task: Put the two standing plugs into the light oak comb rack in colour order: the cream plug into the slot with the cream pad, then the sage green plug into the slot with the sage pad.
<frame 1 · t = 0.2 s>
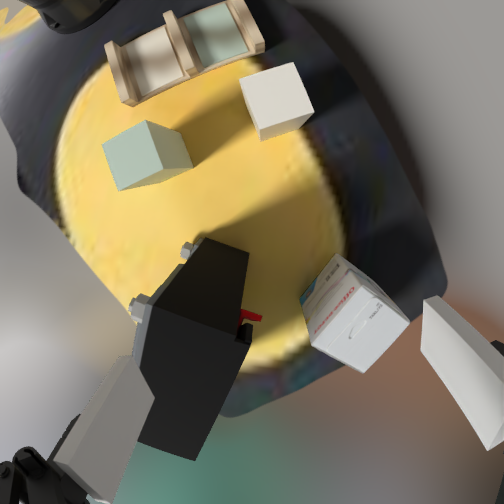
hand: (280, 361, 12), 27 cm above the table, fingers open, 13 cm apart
electrical component: (207, 300, 41), on the table
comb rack: (184, 47, 31), on the table
cream plug: (272, 117, 34), on the table
ink box: (339, 291, 40), on the table
sage plug: (169, 157, 36), on the table
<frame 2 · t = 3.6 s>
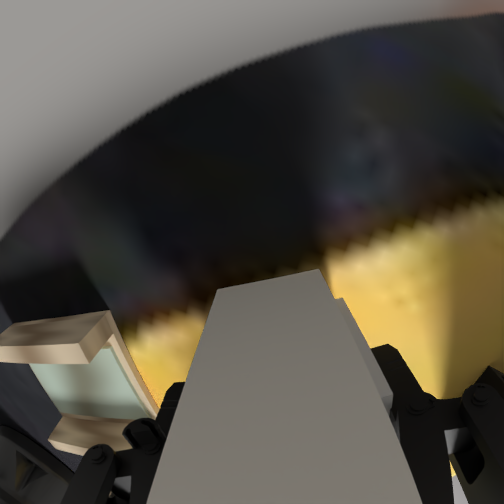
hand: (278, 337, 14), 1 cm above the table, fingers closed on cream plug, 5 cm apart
electrical component: (499, 407, 18), on the table
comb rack: (112, 421, 18), on the table
cream plug: (277, 323, 15), on the table, touching gripper
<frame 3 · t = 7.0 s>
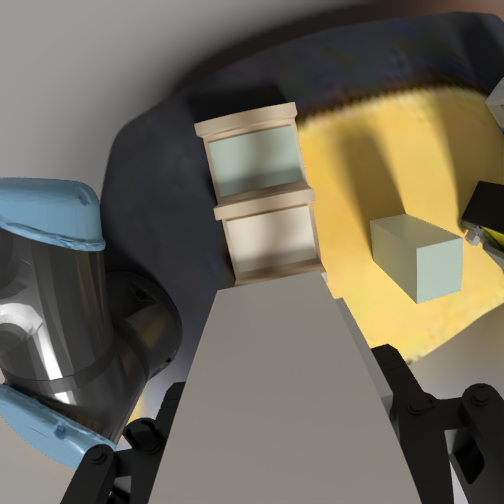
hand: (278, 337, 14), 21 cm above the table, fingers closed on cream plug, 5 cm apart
electrical component: (499, 232, 32), on the table
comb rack: (264, 200, 32), on the table
cream plug: (277, 324, 15), point 19 cm above the table, touching gripper
sage plug: (390, 237, 33), on the table
when the fingers open (3 cm above the table, at t = 10.6 s): cream plug drops 1 cm, resting on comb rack.
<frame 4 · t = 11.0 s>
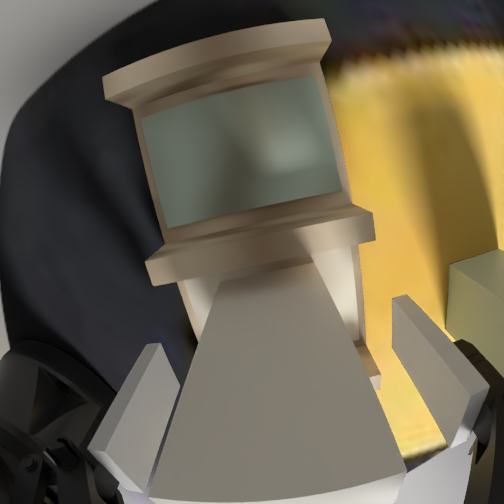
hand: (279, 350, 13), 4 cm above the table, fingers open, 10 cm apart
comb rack: (259, 231, 16), on the table
cream plug: (276, 313, 16), point 1 cm above the table, touching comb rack
sage plug: (473, 289, 16), on the table
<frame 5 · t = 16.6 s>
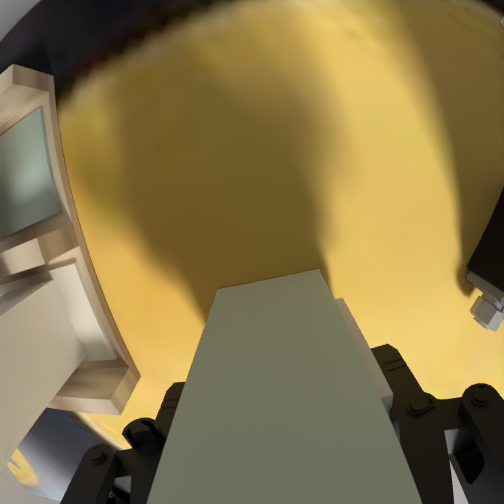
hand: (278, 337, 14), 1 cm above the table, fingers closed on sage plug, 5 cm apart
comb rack: (27, 251, 14), on the table
cream plug: (44, 322, 15), point 1 cm above the table, touching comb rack
sage plug: (277, 323, 15), on the table, touching gripper
when the fingers open (3 cm above the table, at t = 23.5 s): sage plug drops 1 cm, resting on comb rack.
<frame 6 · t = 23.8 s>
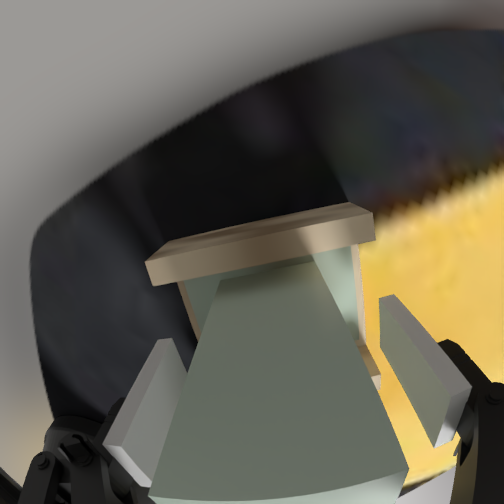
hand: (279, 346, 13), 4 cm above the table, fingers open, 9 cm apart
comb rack: (288, 364, 18), on the table
sage plug: (276, 312, 16), point 1 cm above the table, touching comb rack
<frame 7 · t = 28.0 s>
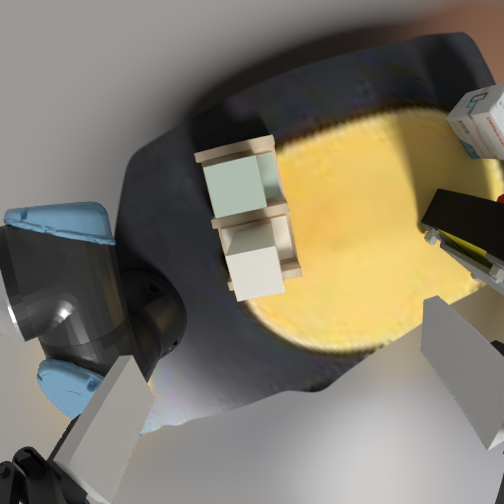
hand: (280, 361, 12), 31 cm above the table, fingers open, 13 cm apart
electrical component: (460, 232, 40), on the table
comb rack: (251, 211, 41), on the table
cream plug: (257, 243, 41), point 1 cm above the table, touching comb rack
ink box: (469, 124, 35), on the table
sage plug: (243, 180, 39), point 1 cm above the table, touching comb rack
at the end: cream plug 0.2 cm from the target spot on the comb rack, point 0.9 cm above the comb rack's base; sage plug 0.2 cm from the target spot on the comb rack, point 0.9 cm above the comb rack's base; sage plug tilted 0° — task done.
